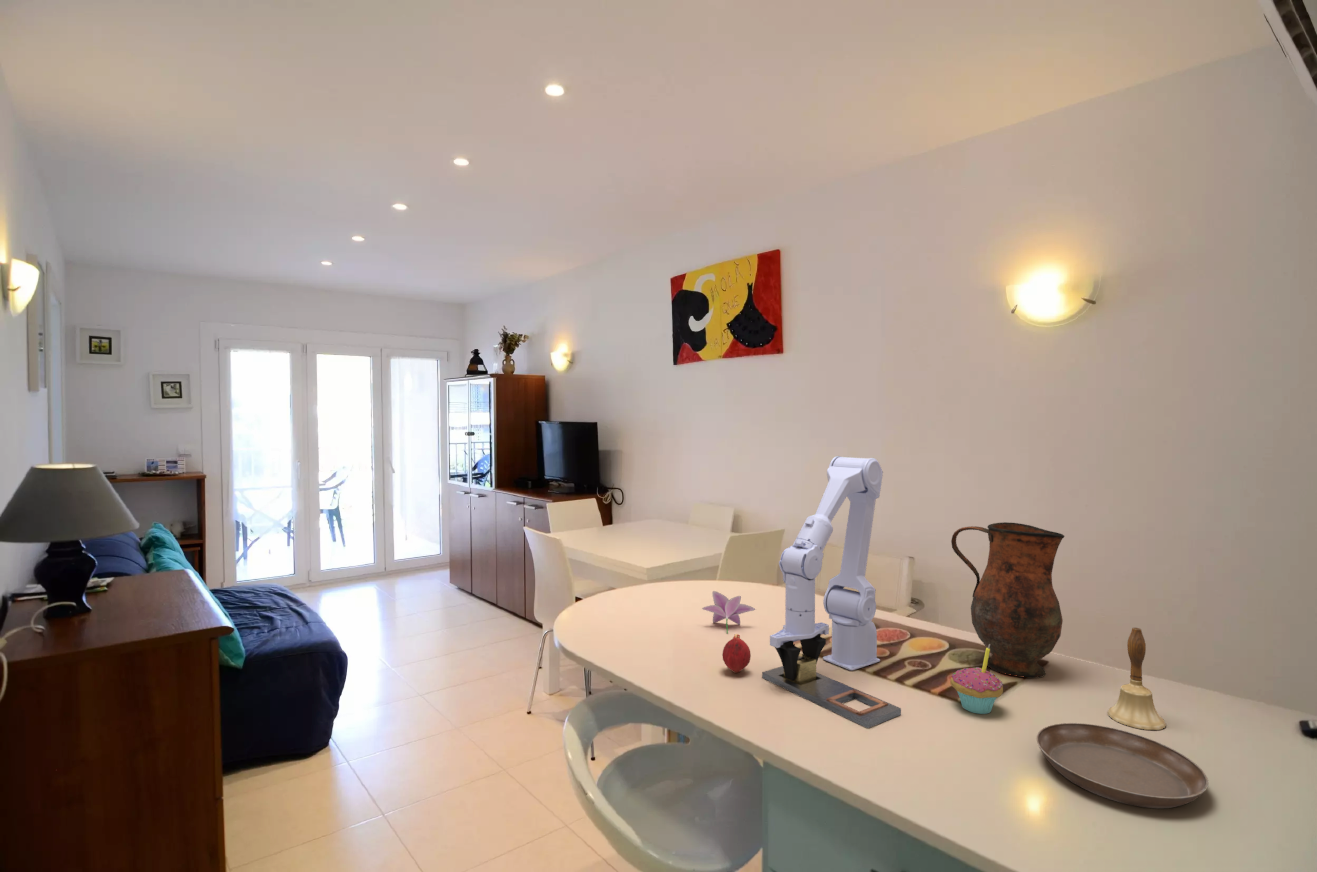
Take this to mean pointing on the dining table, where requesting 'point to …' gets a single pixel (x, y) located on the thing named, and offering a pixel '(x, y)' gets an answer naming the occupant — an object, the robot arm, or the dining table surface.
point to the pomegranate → (736, 654)
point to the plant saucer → (1122, 765)
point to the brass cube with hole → (805, 670)
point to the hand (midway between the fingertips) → (799, 675)
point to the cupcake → (977, 687)
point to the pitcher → (1016, 597)
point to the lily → (727, 608)
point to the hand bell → (1136, 692)
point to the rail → (837, 698)
